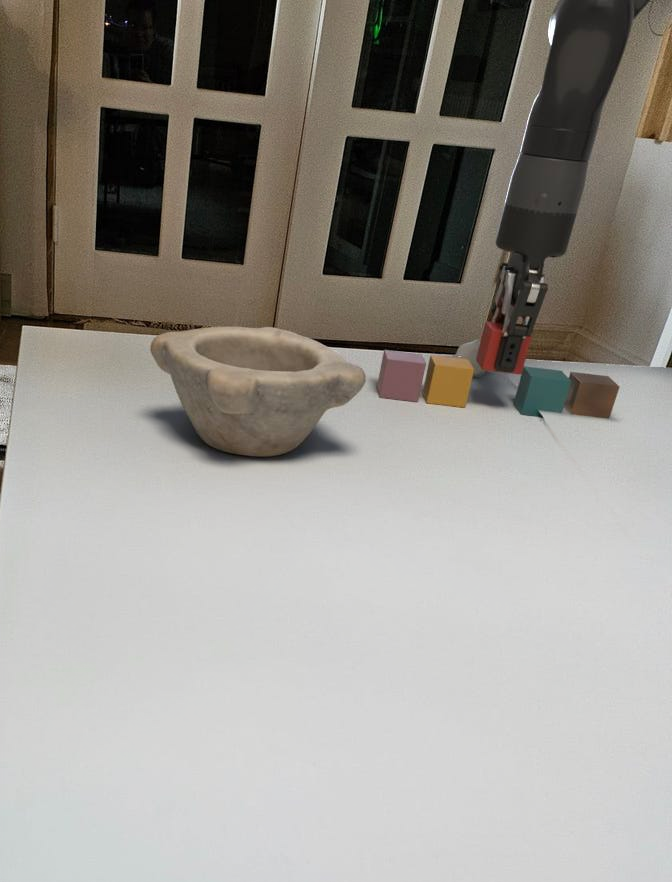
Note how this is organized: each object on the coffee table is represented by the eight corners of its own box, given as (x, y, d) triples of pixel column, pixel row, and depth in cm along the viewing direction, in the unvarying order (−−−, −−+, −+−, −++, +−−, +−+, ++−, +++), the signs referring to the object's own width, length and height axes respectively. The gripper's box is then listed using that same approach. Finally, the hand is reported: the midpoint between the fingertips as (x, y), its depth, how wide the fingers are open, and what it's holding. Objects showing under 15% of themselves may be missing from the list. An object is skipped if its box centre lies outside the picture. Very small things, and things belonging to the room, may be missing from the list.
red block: (513, 364, 111) (524, 325, 109) (521, 374, 107) (532, 334, 105) (475, 360, 111) (485, 321, 109) (482, 370, 107) (492, 329, 105)
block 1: (413, 391, 114) (421, 354, 111) (417, 402, 110) (426, 363, 108) (376, 387, 114) (384, 349, 112) (379, 397, 110) (387, 358, 108)
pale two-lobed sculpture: (457, 370, 129) (496, 365, 127) (448, 382, 123) (489, 377, 121) (454, 338, 128) (494, 332, 126) (446, 348, 121) (487, 342, 119)
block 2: (459, 397, 113) (468, 359, 111) (465, 407, 110) (474, 369, 107) (422, 392, 114) (430, 355, 111) (426, 403, 110) (435, 364, 107)
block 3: (550, 407, 113) (561, 370, 111) (559, 419, 109) (571, 380, 107) (513, 403, 113) (523, 365, 111) (521, 414, 109) (531, 376, 107)
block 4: (596, 413, 113) (608, 376, 111) (607, 424, 109) (620, 386, 107) (559, 408, 113) (570, 371, 111) (568, 420, 109) (580, 381, 107)
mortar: (205, 480, 82) (217, 376, 77) (134, 417, 95) (140, 324, 90) (365, 467, 89) (384, 371, 84) (278, 410, 102) (291, 323, 97)
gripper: (595, 216, 94) (545, 386, 103) (560, 201, 106) (519, 354, 115) (519, 208, 94) (476, 377, 103) (494, 194, 107) (457, 346, 115)
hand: (499, 364), depth 109 cm, fingers closed on red block, 4 cm apart
